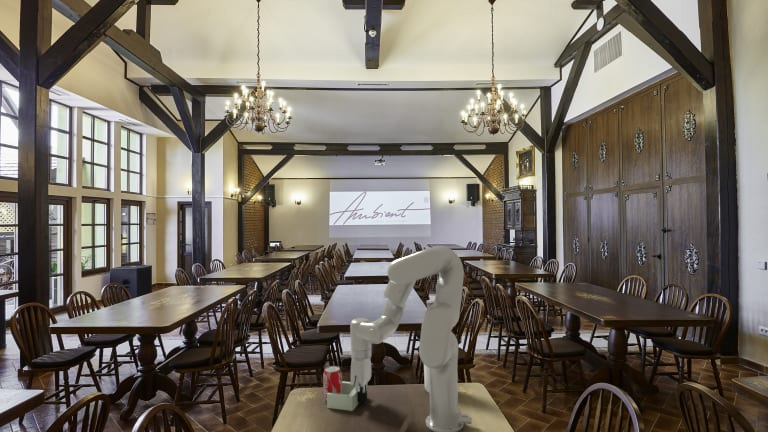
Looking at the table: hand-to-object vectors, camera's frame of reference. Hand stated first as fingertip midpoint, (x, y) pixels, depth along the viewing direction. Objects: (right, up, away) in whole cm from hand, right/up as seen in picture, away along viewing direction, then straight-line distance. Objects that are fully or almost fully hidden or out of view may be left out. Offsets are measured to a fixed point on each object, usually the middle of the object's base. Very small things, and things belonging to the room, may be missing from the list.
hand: (362, 402), depth 152 cm
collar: (-6, -1, +2) cm, 7 cm away
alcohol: (+29, -2, +14) cm, 32 cm away
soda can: (-11, -1, +4) cm, 12 cm away
